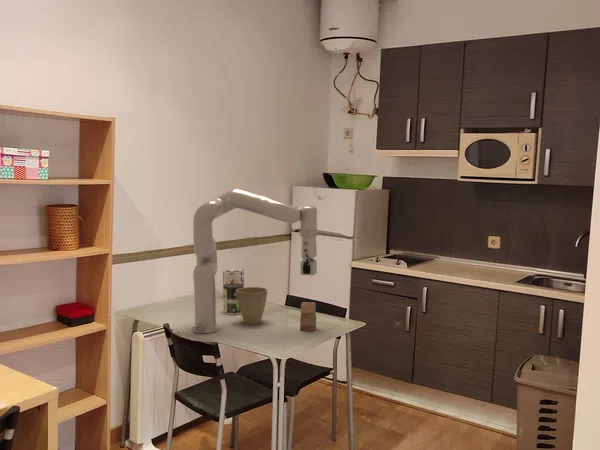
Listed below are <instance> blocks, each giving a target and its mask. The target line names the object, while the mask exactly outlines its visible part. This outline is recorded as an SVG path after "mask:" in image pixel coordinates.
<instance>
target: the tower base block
mask: <svg viewBox="0 0 600 450" xmlns="http://www.w3.org/2000/svg"><path fill="white" fill-rule="evenodd" d="M299 318H300V319H299V321H300V322H299V325H300V326H299V328H300V329H299V331H300V332H310V333H311V332H313V333H314V331H315V330H316V329H317V315H315V318H314V319H310V318H301V317H299Z"/></svg>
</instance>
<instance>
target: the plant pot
mask: <svg viewBox="0 0 600 450" xmlns="http://www.w3.org/2000/svg"><path fill="white" fill-rule="evenodd" d="M236 293H237V299H238V304H239V308H240V311H241V314H240V315H241V317H242V321H243V322H244V323H245V325H259V324H260V323H261V321H262V319H263V318H262V317H263V315H264V311H265V308H266V307H265V306H266V303H267V298H268V289H267V288H265V287H263V286H262V287H261V286H246V287H245V286H244V288H240V289H237V290H236Z"/></svg>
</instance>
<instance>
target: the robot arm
mask: <svg viewBox="0 0 600 450" xmlns="http://www.w3.org/2000/svg"><path fill="white" fill-rule="evenodd" d="M236 208H237V209H241V210H244V211H248V212H252V213H254V214H257V215H261V216H264V217H268V218H271V219H274V220H277V221H281V222H284V223H288V224H295V223H297V222H298V221H299V222H300V225H299V228H300V231H299V233H300V235H299V236H300V237H301V258H302V261H303V274H310V265H309V264H310V260H315V258H316V257H317V255H318V253H317V250H318V249H317V238H316V237H318V208H317V207H316V206H314V205H303V206H302V205H293V204H289V205H288V204H284V203H282V202H278V201H276V200H273V199H271V198H269V197H268V196H265V195H262V194H259V193H255V192H252V191H248V190H246V189H245V190H244V189H243V188H241V187H234V188H232V189H230V190H228V191H226V192H225V193H222V194H221V195H219V196H216V197H214V198H212V199H210V200H207V201H206V202H204V203H203V204H201V205H200V206H199V207H198V208H197V209H196V211H195V213H194V216H193V221H192V224H193V235H192V236H193V253H194V254H195V256H196V265H195V267H194V269H193V273H192V275H193V276H192V277H193V290H194V291H193V292H194V296H193V297H194V299H193V300H194V325H193V326H192V327H191V331H192V332H193V333H196V334H211V333H216V332H218V331H220V326H219V325H218V324H217V312H216V311H217V310H216V307H217V306H216V305H217V304H216V301H217V300H216V297H217V296H216V274H217V272H218V250H217V249H218V248H217V243H216V241H215V239H214V238H213V221H214V220H215V219H217V218H220V217H221V216H223V215H224V214H227V213H228V212H230V211H232V210H235V209H236ZM307 260H308V261H307Z"/></svg>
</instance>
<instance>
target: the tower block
mask: <svg viewBox="0 0 600 450" xmlns="http://www.w3.org/2000/svg"><path fill="white" fill-rule="evenodd" d="M316 313H317V312H316V302H307V301H306V302H305V301H302V302H301V304H300V318H310V319H314V318H315V316H316Z"/></svg>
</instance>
